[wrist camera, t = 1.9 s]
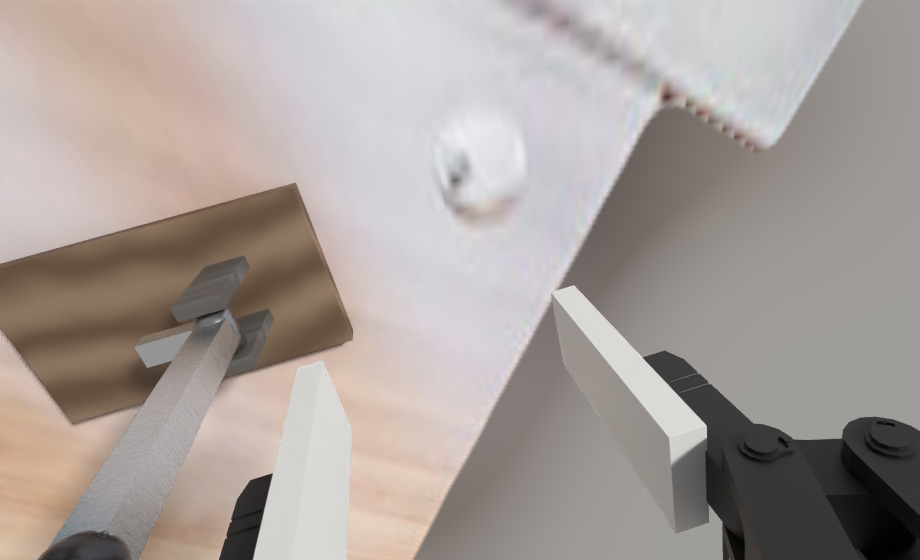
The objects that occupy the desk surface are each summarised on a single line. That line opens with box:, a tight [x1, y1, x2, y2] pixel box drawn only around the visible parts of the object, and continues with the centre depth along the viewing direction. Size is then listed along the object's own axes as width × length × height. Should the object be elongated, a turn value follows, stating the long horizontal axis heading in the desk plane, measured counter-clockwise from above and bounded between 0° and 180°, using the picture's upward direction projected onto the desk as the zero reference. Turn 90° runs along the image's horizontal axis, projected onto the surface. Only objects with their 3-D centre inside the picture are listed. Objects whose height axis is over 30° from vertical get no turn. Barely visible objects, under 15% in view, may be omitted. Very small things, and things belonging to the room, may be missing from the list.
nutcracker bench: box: [0, 183, 353, 423], centre depth 42 cm, size 16×28×10 cm, turn 104°
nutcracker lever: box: [38, 304, 247, 560], centre depth 29 cm, size 4×8×24 cm, turn 104°
